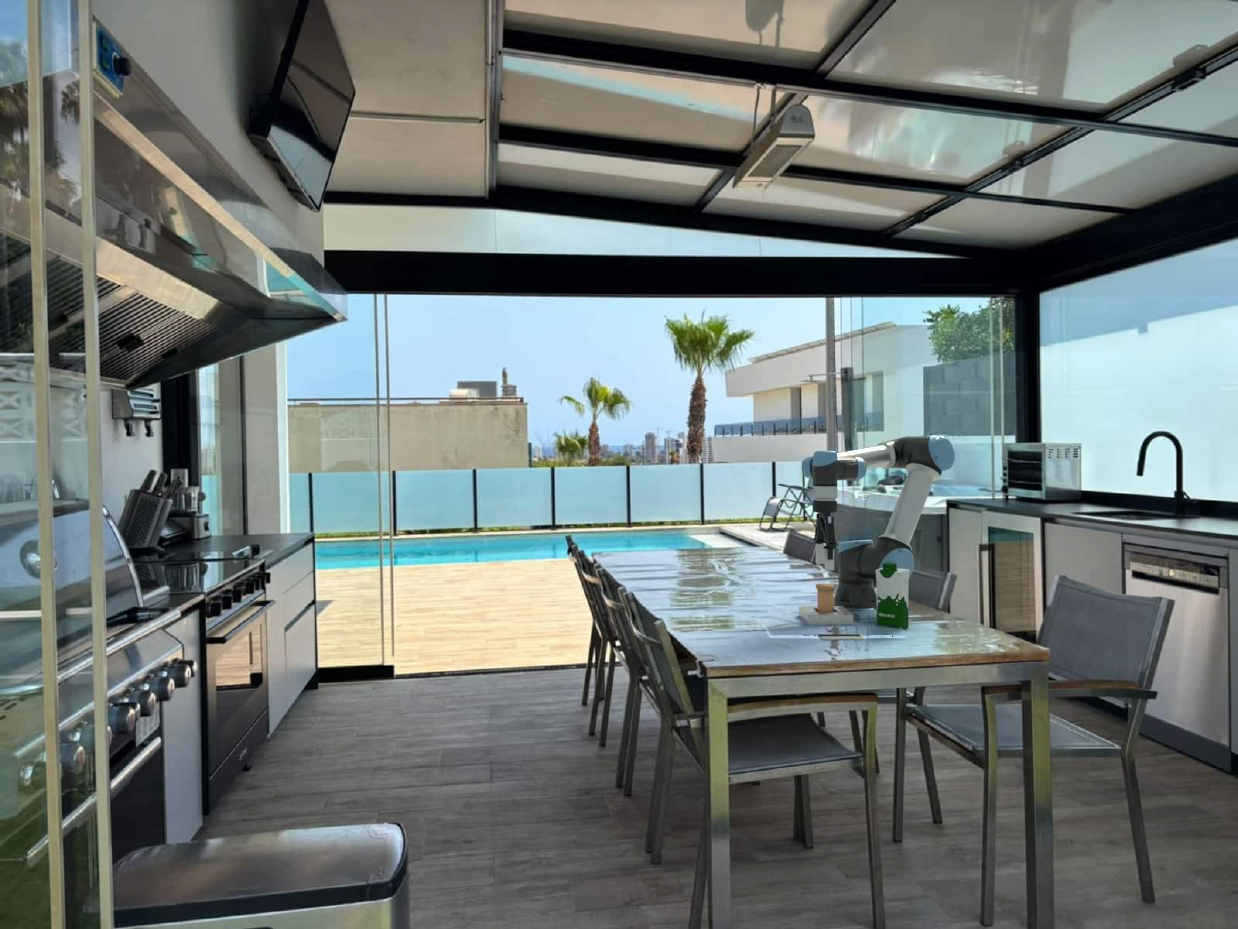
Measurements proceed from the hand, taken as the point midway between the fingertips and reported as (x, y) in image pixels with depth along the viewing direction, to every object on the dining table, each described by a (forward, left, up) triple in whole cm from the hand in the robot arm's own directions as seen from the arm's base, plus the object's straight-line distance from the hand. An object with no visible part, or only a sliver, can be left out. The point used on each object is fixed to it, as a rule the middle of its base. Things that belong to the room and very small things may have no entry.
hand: (824, 567), depth 263 cm
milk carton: (-19, +7, -18) cm, 27 cm away
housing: (0, 0, -18) cm, 18 cm away
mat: (0, +17, -18) cm, 24 cm away
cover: (0, 0, -17) cm, 17 cm away
